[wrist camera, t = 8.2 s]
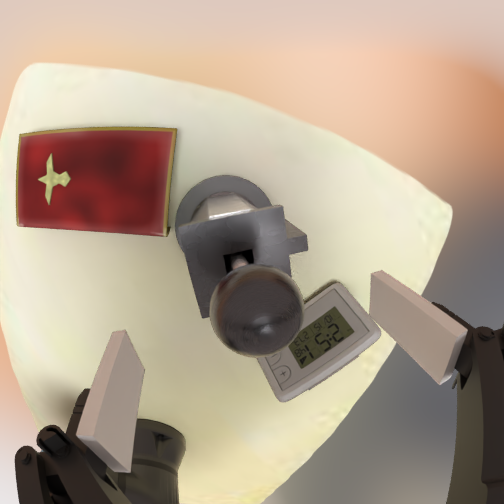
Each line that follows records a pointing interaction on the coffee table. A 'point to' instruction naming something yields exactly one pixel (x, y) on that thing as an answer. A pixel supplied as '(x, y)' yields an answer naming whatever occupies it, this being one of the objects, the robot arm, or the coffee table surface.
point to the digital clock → (321, 343)
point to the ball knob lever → (256, 308)
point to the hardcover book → (96, 179)
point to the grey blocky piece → (235, 240)
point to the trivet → (213, 187)
